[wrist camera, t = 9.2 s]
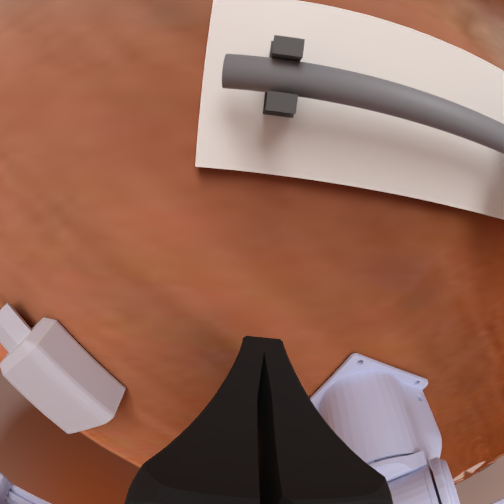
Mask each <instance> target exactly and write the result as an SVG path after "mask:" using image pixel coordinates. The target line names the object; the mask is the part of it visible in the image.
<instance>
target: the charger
mask: <svg viewBox="0 0 504 504" xmlns="http://www.w3.org/2000/svg"><path fill="white" fill-rule="evenodd" d="M0 343H1V344H2V345H3V346H4V348H5V349H6V350H7V351H8V352H9V353H8V354H7V355H6V357H5V358H4V359H3V360H2V362H1V363H0V367H1V371H2V374H3V376H4V377H5V378H6V379H7V380H8V381H9V382H10V383H11V384H12V385H13V386H14V387H15V388H16V389H17V390H18V391H19V392H20V393H21V394H22V395H23V396H24V397H25V398H26V399H28V400H29V401H30V402H31V403H32V404H33V405H34V406H35V407H36V408H37V409H39V410H40V411H41V412H42V413H43V414H44V415H45V416H47V417H48V418H49V419H50V420H52V421H53V422H54V423H55V424H56V425H57V426H59V427H60V428H61V429H62V430H64V431H65V432H66V433H68V434H71V433H75V432H79V431H83V430H86V429H90V428H94V427H97V426H101V425H103V424H105V423H107V422H109V421H110V420H111V419H112V418H113V417H114V416H115V414H116V411H117V409H118V406H119V404H120V402H121V399H122V397H123V394H124V392H125V389H126V388H125V387H124V386H123V385H122V384H121V383H120V382H119V381H118V380H116V379H115V378H114V377H113V376H112V375H111V374H110V373H109V372H108V371H107V370H105V369H104V368H103V367H102V366H101V365H100V364H99V363H98V362H97V361H96V360H95V359H94V358H93V357H92V356H91V355H90V354H89V353H88V352H87V351H86V350H85V349H84V348H83V347H82V346H81V345H80V344H79V343H78V342H77V341H76V340H75V339H74V338H73V337H72V336H71V335H70V334H69V333H68V332H67V331H66V330H65V328H64V327H63V326H62V325H61V324H60V323H59V322H58V321H57V320H55V319H50V318H46V317H43V318H42V319H41V320H40V321H39V322H38V323H37V324H36V325H35V326H34V327H33V328H30V326H29V325H28V324H27V323H26V322H25V321H24V320H23V318H22V317H21V316H20V315H19V314H18V312H17V311H16V310H15V309H14V308H13V306H12V305H11V304H10V303H9V302H8V303H7V304H6V305H5V306H4V307H3V308H2V309H1V310H0Z"/></svg>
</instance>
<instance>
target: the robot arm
mask: <svg viewBox="0 0 504 504" xmlns="http://www.w3.org/2000/svg"><path fill="white" fill-rule="evenodd" d="M360 360H361V361H360ZM358 361H359V362H358ZM427 385H428V381H427V379H425V378H422V377H420V376H417V375H414V374H411V373H409V372H406V371H403V370H400V369H398V368H395V367H392V366H390V365H387V364H384V363H382V362H379V361H376V360H374V359H371V358H368V357H366V356H363V355H361V354H358V353H354V354H352V355H350V356H349V357H348V358H347V359H346V361H345V362H344V363H343V364H342V365H341V366H340V367H339V368H338V369H337V370H336V371H335V372H334V374H333V375H332V376H331V377H330V378H329V379H328V380H327V381H326V382H325V383H324V384H323V385H322V386H321V387H320V388H319V389H318V390H317V391H316V392H315V393H314V394H313V395H312V396H311V397H310V398H309V397H308V395H307V394H306V392H305V390H304V388H303V387H302V385H301V383H300V381H299V379H298V377H297V375H296V373H295V371H294V369H293V367H292V365H291V363H290V361H289V358H288V356H287V353H286V351H285V348H284V345H283V342H282V341H281V340H280V339H272V338H262V337H252V336H246V337H244V338H243V341H242V345H241V348H240V351H239V354H238V356H237V358H236V361H235V363H234V364H233V366H232V368H231V370H230V372H229V374H228V376H227V377H226V379H225V381H224V382H223V384H222V385H221V387H220V388H219V390H218V391H217V393H216V394H215V396H214V397H213V398H212V400H211V401H210V402H209V404H208V405H207V406H206V407H205V409H204V410H203V411H202V412H201V413H200V415H199V416H198V417H197V418H196V419H195V420H194V421H193V422H192V423H191V424H190V425H189V426H188V427H187V428H186V429H185V430H184V431H183V432H182V433H181V434H180V435H179V436H178V437H177V438H176V439H174V440H173V441H172V442H171V443H170V444H169V445H168V446H166V447H165V448H164V449H163V450H161V451H160V452H159V453H157V454H156V455H155V456H153V457H152V458H150V459H149V460H148V461H146V462H145V463H144V464H143V465H142V467H141V468H140V470H139V471H138V473H137V474H136V476H135V478H134V479H133V481H132V483H131V485H130V488H129V490H128V494H127V497H126V501H125V504H460V502H459V499H458V495H457V492H456V488H455V485H454V482H453V479H452V476H451V473H450V470H449V468H448V465H447V462H446V460H443V459H439V458H440V454H441V449H442V439H441V434H440V432H439V429H438V427H437V424H436V422H435V419H434V417H433V414H432V412H431V409H430V407H429V405H428V402H427V400H426V397H425V395H424V393H423V391H422V390H423V389H424V388H425V387H426V386H427ZM0 504H51V503H49V502H47V501H45V500H43V499H41V498H38V497H36V496H34V495H32V494H30V493H29V492H26V491H25V490H23V489H21V488H19V487H17V486H15V485H14V484H12V483H11V481H10V480H9V479H8V478H7V477H6V476H4V475H3V474H2V473H0ZM491 504H504V498H502V499H500V500H498V501H495V502H493V503H491Z"/></svg>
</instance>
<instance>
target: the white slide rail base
mask: <svg viewBox="0 0 504 504" xmlns="http://www.w3.org/2000/svg"><path fill="white" fill-rule="evenodd" d="M195 167H205V168H216V169H227V170H237V171H246V172H255V173H264V174H272V175H280V176H287V177H295V178H302V179H309V180H316V181H322V182H329V183H335V184H341V185H347V186H353V187H359V188H365V189H370V190H376V191H381V192H386V193H392V194H397V195H402V196H407V197H411V198H416V199H421V200H426V201H430V202H435V203H439V204H443V205H448V206H452V207H456V208H460V209H464V210H468V211H472V212H476V213H480V214H484V215H488V216H492V217H495V218H499V219H503V220H504V71H503V70H501V69H500V68H498V67H496V66H494V65H492V64H490V63H489V62H487V61H485V60H483V59H481V58H479V57H477V56H475V55H473V54H471V53H469V52H467V51H464V50H462V49H460V48H458V47H456V46H454V45H451V44H449V43H447V42H444V41H442V40H440V39H437V38H435V37H432V36H430V35H427V34H424V33H422V32H419V31H416V30H414V29H411V28H408V27H405V26H402V25H399V24H396V23H393V22H390V21H386V20H383V19H380V18H376V17H373V16H369V15H365V14H362V13H358V12H354V11H350V10H345V9H341V8H336V7H332V6H327V5H321V4H316V3H310V2H304V1H298V0H213V6H212V13H211V20H210V27H209V34H208V42H207V49H206V57H205V66H204V75H203V84H202V93H201V103H200V114H199V125H198V137H197V149H196V163H195Z"/></svg>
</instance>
